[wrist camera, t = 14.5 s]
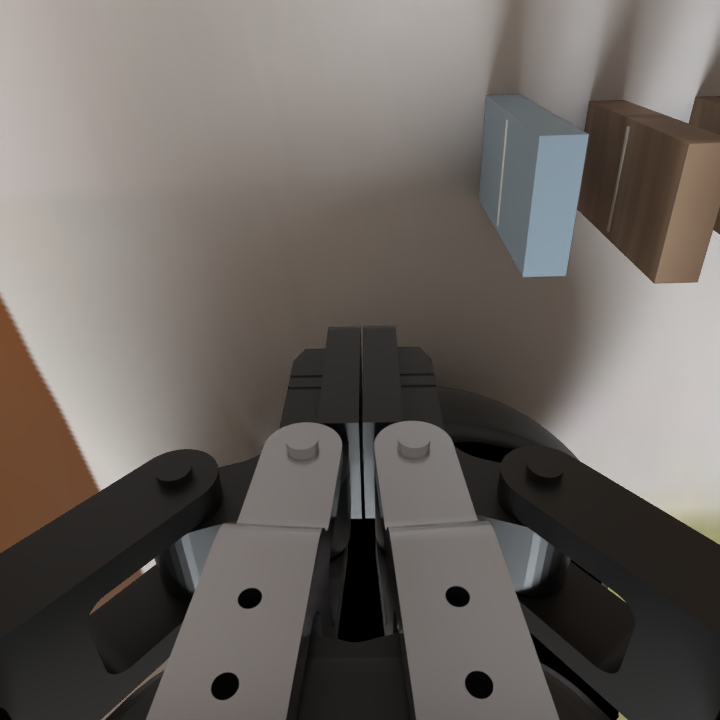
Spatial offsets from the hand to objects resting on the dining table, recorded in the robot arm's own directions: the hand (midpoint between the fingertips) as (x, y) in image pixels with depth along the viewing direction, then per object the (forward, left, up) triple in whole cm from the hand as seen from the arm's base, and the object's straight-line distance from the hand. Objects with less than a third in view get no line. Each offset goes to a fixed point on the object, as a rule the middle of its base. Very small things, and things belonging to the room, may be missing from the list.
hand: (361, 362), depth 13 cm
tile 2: (+12, 0, -19) cm, 22 cm away
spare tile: (+7, +1, -19) cm, 20 cm away
